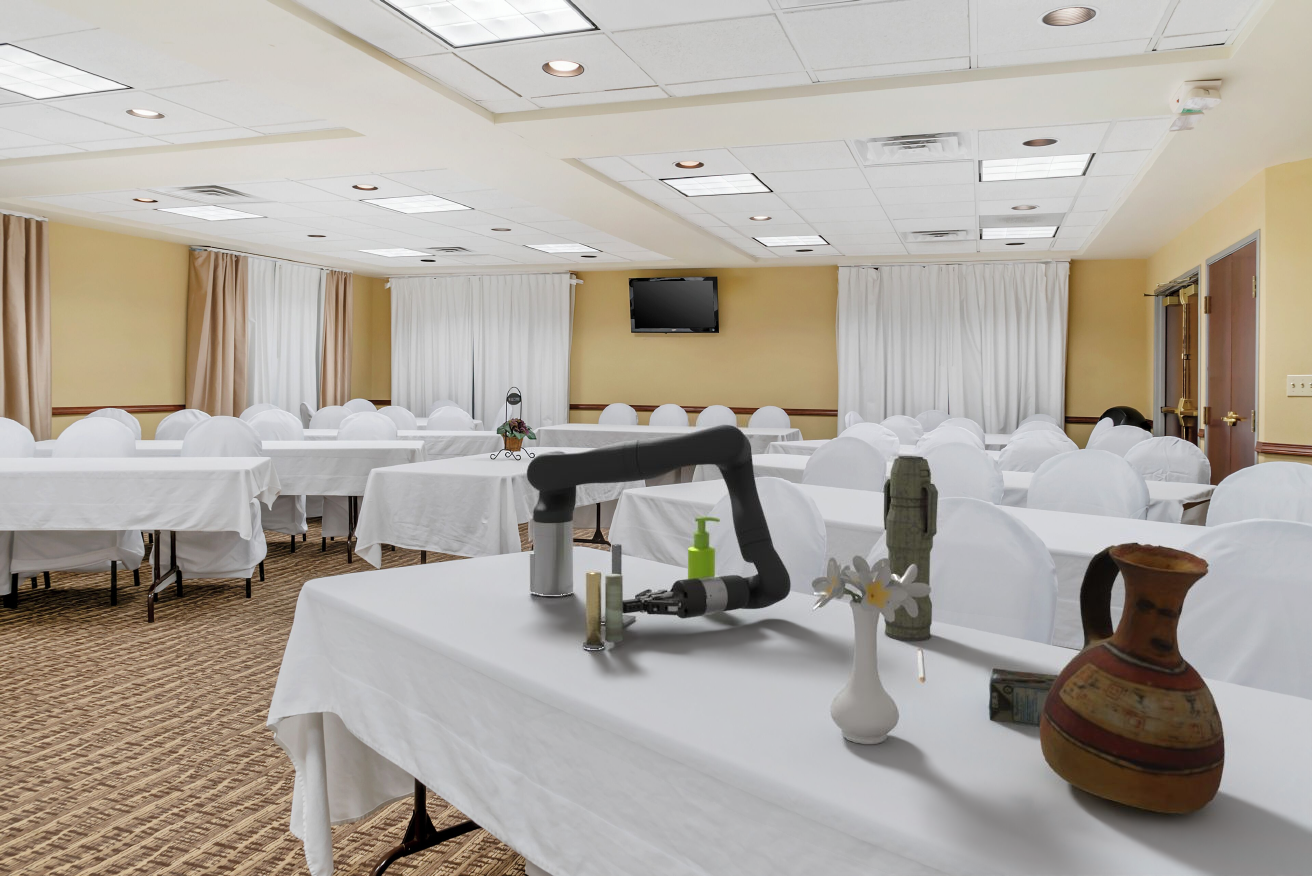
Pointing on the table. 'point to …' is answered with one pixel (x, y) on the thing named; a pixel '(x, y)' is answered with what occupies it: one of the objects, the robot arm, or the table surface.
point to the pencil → (921, 665)
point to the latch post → (593, 611)
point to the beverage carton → (1018, 696)
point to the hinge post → (618, 570)
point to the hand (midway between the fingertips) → (620, 607)
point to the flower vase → (867, 642)
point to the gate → (614, 607)
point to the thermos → (910, 538)
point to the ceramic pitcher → (1136, 691)
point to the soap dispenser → (701, 552)
